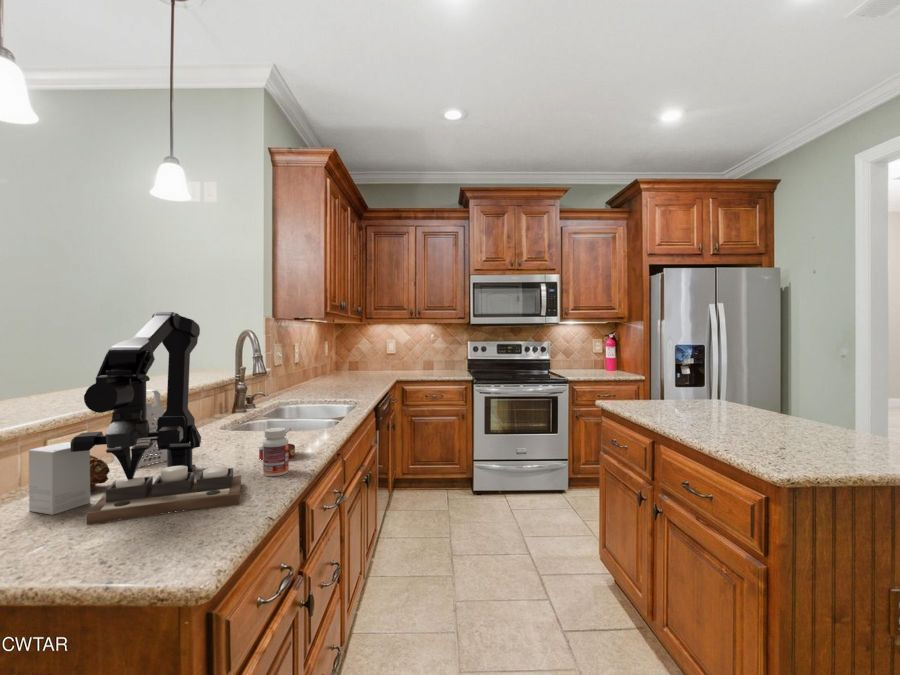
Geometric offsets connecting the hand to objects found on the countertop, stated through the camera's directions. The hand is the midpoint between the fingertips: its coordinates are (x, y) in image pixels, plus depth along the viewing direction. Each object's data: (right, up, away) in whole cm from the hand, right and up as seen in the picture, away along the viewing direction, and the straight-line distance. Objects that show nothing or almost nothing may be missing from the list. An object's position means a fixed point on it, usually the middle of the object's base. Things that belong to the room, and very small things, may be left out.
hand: (130, 479), depth 96 cm
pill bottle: (+22, -5, +21) cm, 32 cm away
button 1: (0, -2, 0) cm, 2 cm away
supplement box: (-14, -6, -1) cm, 15 cm away
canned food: (+17, -6, +37) cm, 41 cm away
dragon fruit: (-18, -6, +9) cm, 21 cm away
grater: (-19, -6, +33) cm, 39 cm away
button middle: (+7, -1, +3) cm, 8 cm away
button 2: (+15, -2, +6) cm, 16 cm away
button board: (+8, -5, +1) cm, 10 cm away
